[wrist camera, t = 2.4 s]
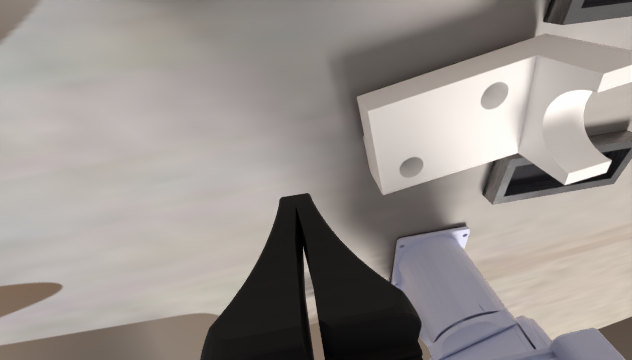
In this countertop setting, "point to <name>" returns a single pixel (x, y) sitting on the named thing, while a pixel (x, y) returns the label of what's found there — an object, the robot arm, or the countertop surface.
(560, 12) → the trap pits
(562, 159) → the bracket
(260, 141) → the countertop surface
